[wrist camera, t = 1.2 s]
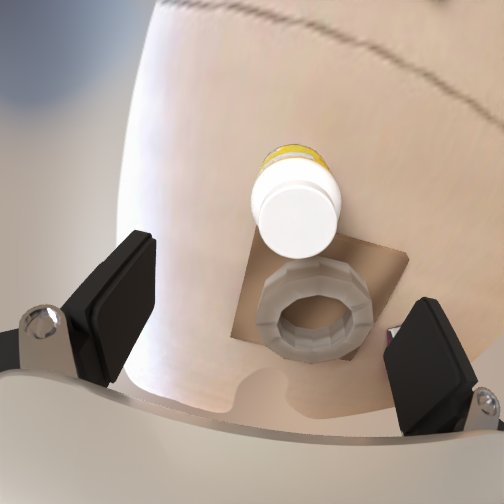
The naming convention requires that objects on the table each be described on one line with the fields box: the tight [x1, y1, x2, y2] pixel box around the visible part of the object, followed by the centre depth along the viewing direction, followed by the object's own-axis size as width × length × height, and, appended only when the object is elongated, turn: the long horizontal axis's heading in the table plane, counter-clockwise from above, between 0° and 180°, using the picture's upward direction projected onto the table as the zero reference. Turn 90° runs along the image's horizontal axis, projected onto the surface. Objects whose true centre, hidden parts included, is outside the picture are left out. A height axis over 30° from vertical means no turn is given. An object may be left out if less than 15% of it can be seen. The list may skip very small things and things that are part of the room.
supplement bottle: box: [251, 144, 342, 259], centre depth 19 cm, size 5×5×10 cm
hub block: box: [230, 226, 409, 364], centre depth 27 cm, size 14×14×4 cm
